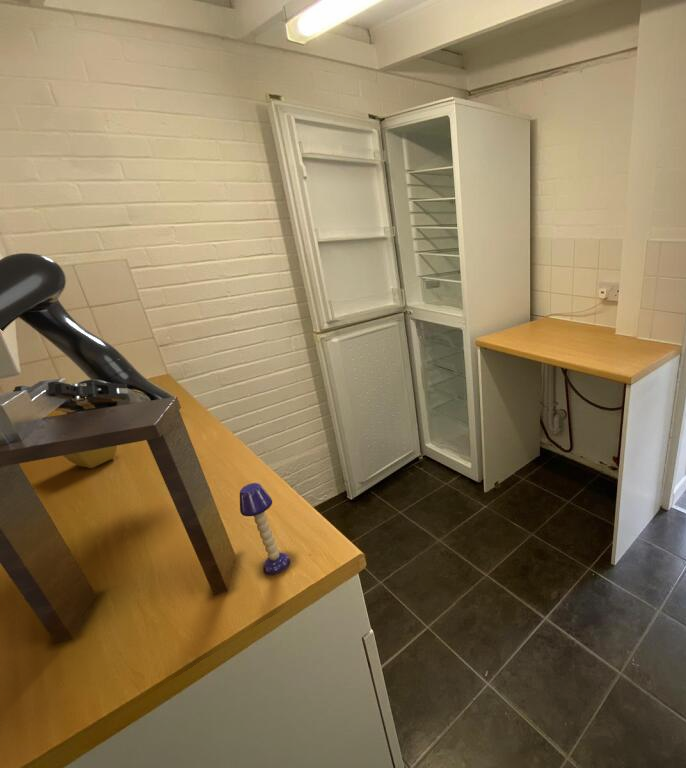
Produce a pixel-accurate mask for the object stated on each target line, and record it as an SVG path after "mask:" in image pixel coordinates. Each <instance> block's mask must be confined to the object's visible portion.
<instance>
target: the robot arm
mask: <svg viewBox="0 0 686 768" xmlns="http://www.w3.org/2000/svg"><path fill="white" fill-rule="evenodd" d="M66 277H67V276H66V273H65V271H64V269H63V268H62V267H61V266H60V264H59V263H57V262H56V261H55V260H53V259H51V258H49V257H48V256H45V255H42V254H38V253H31V252H30V253H29V252H21V253H13V254H10V255H9V254H8V255H6V256H4V257H2V258H0V329H1V330H2V331H3V332H4V331H5V330H6V329H7V328H8V327H9V326H10V325H11V324H12V323H13V322H14V321H15V320H17V319H20V320H22V321H23V322H24V323H25V324H27V325H28V326H30V327H31V328H32V329H33V330H34V331H36V332H37V333H39V334H40V335H41V336H42V337H44V338H45V339H46V340H48V341H49V342H50V343H51V344H52V345H54V346H55V347H56V348H57V349H58V350H59V351H60V352H62V354H64V355H65V356H66V357H67V358H68V359H70V361H71V362H72V363H74V364H75V365H76V366H77V367H78V369H80V370H81V371H82V373H83V374H84V375H85V376H87V377H88V379H85V380H83V381H79V382H73V383H68V384H66V383H62V382H57V381H53V382H49V383H48V388H49V394H50V396H52V397H57V398H63V399H68V400H67V401H65V402H64V403H63V404H61V405H60V406H59V407H57V408H56V409H55V410H54V411H55V412H56V411H58V412H62V413H64V414H69V413H75V412H82V411H88V410H94V409H101V408H107V407H114V406H120V405H126V404H133V403H139V402H145V401H152V400H158V399H164V398H171V397H176V396H175V395H174V394H172V393H171V392H169V391H167V390H166V389H164V388H162V387H161V386H159V385H157V384H156V383H155V382H153V381H151V380H150V379H148V378H147V377H146V376H144V375H143V374H142V373H141V372H140V371H138V370H137V369H136V368H135V366H134V365H133V364H132V363H131V362H130V361H129V360H128V358H126V357H125V356H124V354H122V353H121V352H120V351H119V350H118V349H117V348H116V347H115V346H113V345H112V344H111V343H109V342H108V341H106V340H104V339H103V338H101V337H100V336H98V335H96V334H95V333H93V332H91V331H90V330H89V329H87V328H85V327H84V326H83V325H81V324H80V323H79V322H78V321H76V319H75V318H74V317H72V316H71V314H70V313H69V311H67V309H66V308H65V306H63V304H62V303H61V301H60V299H59V298H60V296H62V294H63V292H64V291H65V289H66V285H67V278H66ZM30 387H31V386H26V385H17V386H15V387H14V389H13V390H12V392H16V391H23V390H27V389H28V388H30ZM181 410H182V408H181V409H180V410H179V411H180V412H181Z"/></svg>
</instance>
